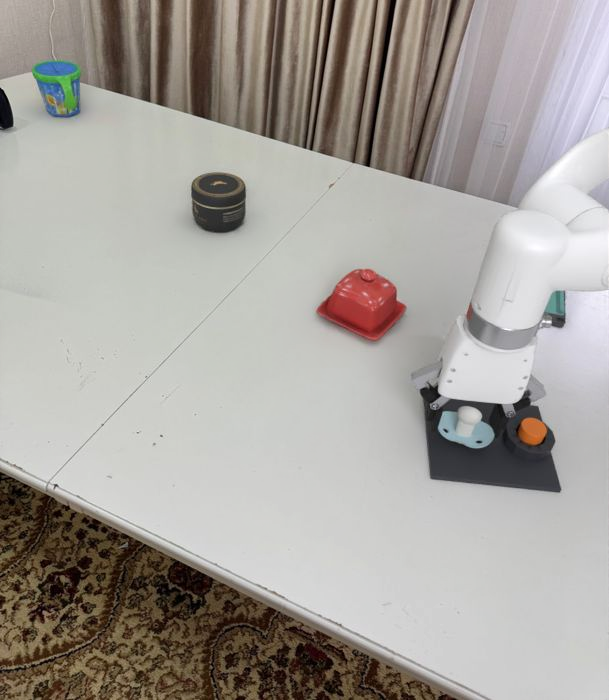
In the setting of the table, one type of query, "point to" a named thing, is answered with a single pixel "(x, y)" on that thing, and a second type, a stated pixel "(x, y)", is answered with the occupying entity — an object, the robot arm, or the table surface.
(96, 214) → the table surface
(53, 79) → the snack cup
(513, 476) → the dark grey flat plate
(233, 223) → the jar
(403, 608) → the table surface
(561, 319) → the smartphone
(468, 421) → the pacifier
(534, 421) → the button
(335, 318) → the butter dish
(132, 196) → the table surface
